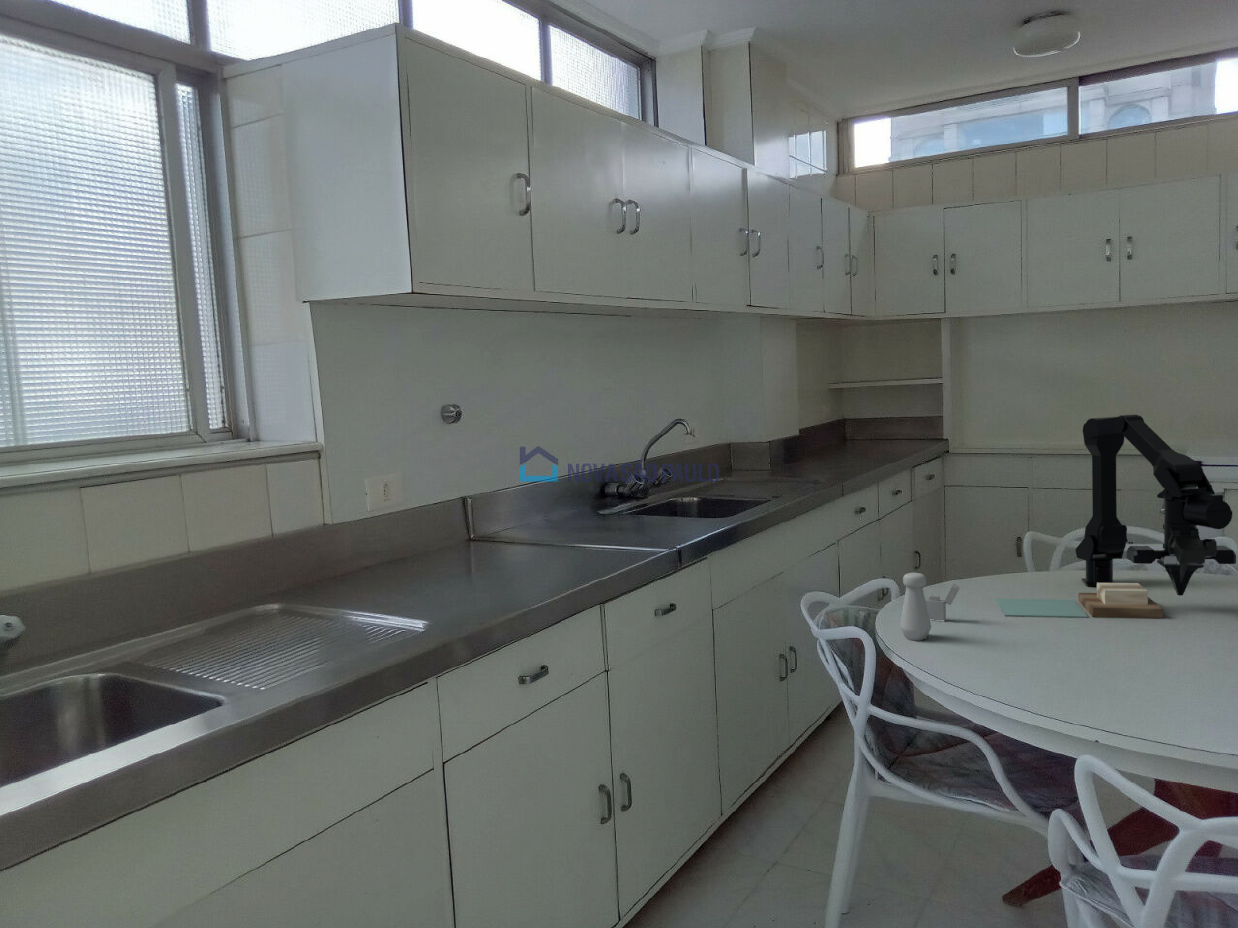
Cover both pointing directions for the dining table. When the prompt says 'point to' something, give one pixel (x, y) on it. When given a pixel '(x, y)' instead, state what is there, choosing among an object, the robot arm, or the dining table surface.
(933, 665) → the dining table surface
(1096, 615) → the walnut board
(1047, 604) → the rubber mat
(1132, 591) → the birch tile
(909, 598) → the salt shaker
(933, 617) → the lighter
